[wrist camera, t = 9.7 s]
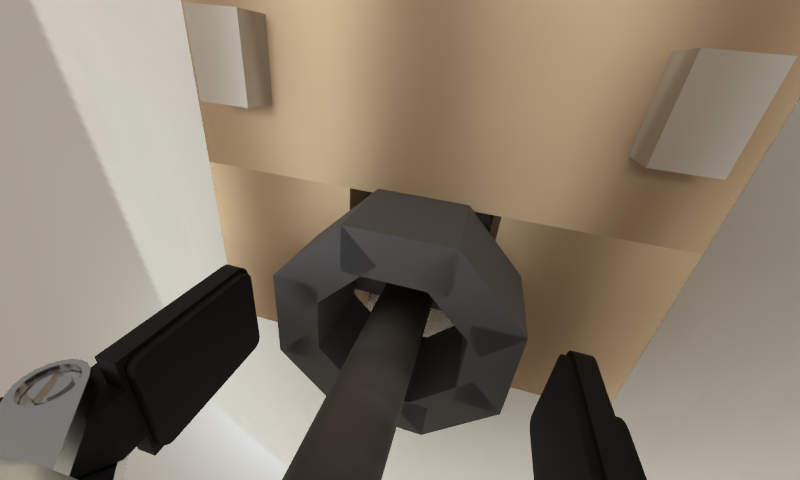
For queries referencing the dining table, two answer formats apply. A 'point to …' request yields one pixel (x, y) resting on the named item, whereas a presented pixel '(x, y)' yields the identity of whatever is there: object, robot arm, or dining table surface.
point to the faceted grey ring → (418, 269)
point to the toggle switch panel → (489, 160)
